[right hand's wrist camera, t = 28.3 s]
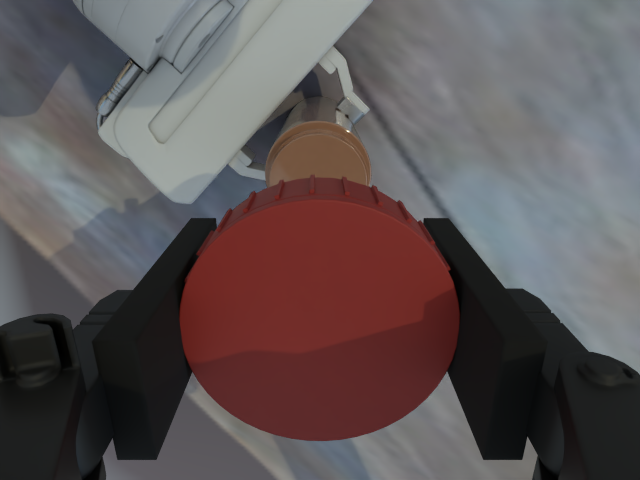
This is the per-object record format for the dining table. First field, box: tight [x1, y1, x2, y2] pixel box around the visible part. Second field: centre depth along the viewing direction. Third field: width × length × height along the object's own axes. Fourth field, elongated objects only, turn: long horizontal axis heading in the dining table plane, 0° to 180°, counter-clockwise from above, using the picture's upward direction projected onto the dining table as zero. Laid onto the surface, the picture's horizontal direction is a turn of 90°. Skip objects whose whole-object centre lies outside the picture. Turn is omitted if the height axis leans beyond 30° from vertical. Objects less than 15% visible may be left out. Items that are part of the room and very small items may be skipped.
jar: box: [265, 96, 371, 188], centre depth 30 cm, size 6×6×17 cm
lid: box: [179, 175, 460, 441], centre depth 11 cm, size 6×7×2 cm
